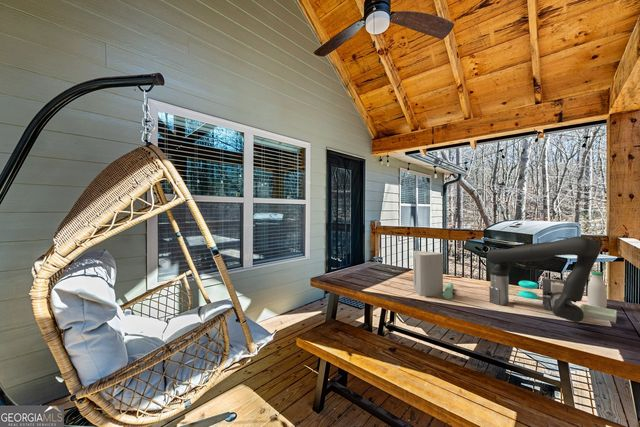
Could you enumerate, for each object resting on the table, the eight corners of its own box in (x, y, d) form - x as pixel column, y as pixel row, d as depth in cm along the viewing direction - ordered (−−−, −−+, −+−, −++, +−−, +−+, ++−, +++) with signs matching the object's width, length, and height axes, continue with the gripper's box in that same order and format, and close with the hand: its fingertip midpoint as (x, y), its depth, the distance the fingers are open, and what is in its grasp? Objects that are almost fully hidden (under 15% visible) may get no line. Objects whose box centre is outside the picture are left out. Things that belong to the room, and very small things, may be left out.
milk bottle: (609, 309, 149) (609, 274, 149) (590, 307, 153) (590, 272, 153) (603, 305, 156) (603, 271, 155) (585, 302, 160) (585, 270, 160)
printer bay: (574, 316, 141) (574, 286, 141) (545, 311, 148) (544, 283, 148) (569, 309, 151) (569, 281, 151) (542, 304, 158) (542, 278, 158)
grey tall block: (564, 310, 146) (564, 282, 146) (552, 308, 149) (552, 280, 149) (562, 307, 151) (562, 279, 151) (550, 305, 154) (550, 278, 153)
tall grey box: (408, 294, 183) (407, 253, 182) (415, 288, 194) (414, 250, 194) (437, 299, 171) (437, 256, 170) (443, 293, 183) (442, 253, 182)
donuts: (515, 279, 177) (532, 280, 175) (515, 294, 177) (532, 295, 175) (523, 284, 167) (541, 284, 165) (523, 299, 167) (541, 300, 165)
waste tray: (615, 324, 131) (615, 317, 131) (578, 316, 141) (578, 309, 141) (616, 316, 140) (616, 310, 140) (582, 309, 150) (582, 303, 150)
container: (447, 280, 194) (444, 288, 172) (455, 283, 192) (454, 293, 170) (444, 287, 195) (441, 296, 174) (452, 291, 193) (450, 301, 171)
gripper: (580, 296, 134) (573, 288, 148) (543, 292, 142) (540, 284, 156) (580, 311, 134) (573, 301, 148) (543, 306, 142) (540, 297, 156)
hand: (556, 292), depth 152 cm, fingers closed on grey tall block, 5 cm apart
